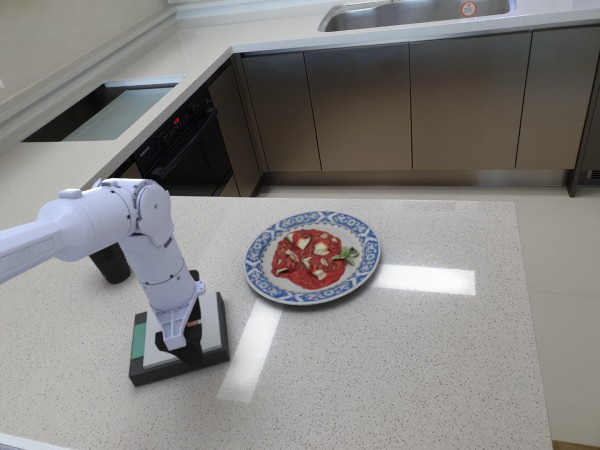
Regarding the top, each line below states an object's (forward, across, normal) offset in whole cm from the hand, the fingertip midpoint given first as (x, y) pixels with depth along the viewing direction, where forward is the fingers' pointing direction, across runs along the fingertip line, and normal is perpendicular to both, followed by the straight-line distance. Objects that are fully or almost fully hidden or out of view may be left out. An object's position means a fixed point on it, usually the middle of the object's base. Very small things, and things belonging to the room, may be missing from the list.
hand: (195, 340), depth 63 cm
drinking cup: (+11, +32, +18) cm, 38 cm away
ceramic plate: (+11, +21, -20) cm, 31 cm away
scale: (+10, +10, +4) cm, 15 cm away
